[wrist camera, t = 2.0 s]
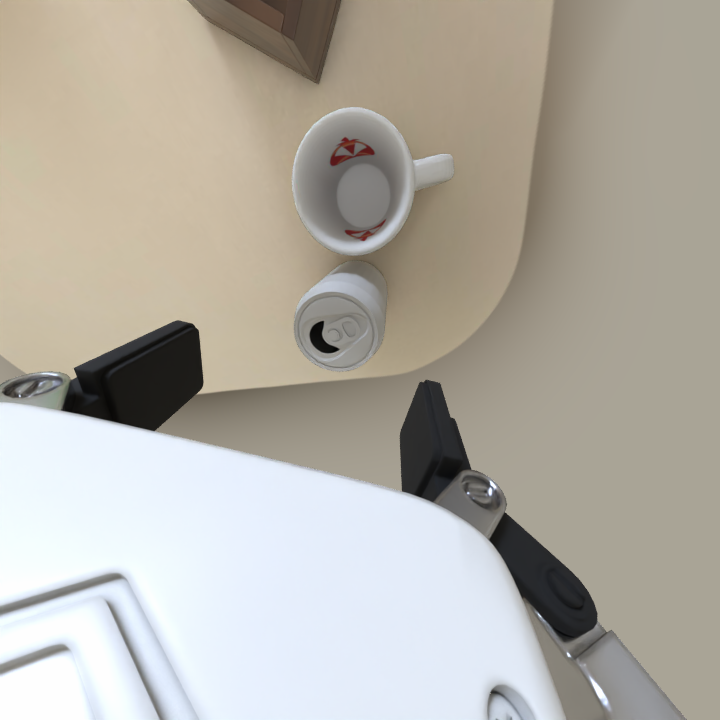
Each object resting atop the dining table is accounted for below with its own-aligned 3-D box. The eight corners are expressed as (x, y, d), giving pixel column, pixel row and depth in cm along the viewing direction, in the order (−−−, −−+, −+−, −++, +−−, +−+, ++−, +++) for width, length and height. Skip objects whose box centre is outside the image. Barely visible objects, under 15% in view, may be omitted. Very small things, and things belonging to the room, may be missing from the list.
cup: (438, 116, 21) (460, 63, 14) (446, 227, 24) (467, 231, 17) (309, 157, 23) (271, 130, 16) (333, 254, 26) (311, 267, 19)
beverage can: (316, 276, 27) (268, 311, 17) (372, 247, 26) (356, 267, 15) (344, 328, 30) (317, 388, 19) (397, 306, 28) (399, 358, 17)
